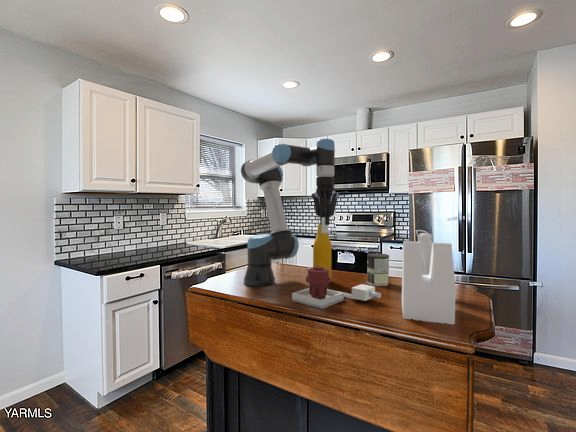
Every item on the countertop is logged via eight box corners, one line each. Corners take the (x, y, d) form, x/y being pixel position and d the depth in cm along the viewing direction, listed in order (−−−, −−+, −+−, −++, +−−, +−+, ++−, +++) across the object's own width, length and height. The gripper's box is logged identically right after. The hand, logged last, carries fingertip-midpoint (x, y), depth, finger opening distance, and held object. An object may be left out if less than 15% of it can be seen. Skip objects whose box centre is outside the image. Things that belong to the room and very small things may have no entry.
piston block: (351, 297, 121) (351, 287, 121) (361, 293, 127) (361, 284, 127) (375, 303, 114) (375, 292, 114) (384, 298, 120) (384, 288, 120)
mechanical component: (331, 295, 125) (329, 302, 116) (307, 293, 127) (303, 300, 118) (331, 265, 125) (330, 270, 115) (307, 264, 127) (303, 268, 117)
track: (333, 294, 130) (333, 292, 129) (337, 293, 132) (337, 290, 132) (356, 300, 122) (356, 297, 122) (360, 298, 124) (360, 296, 124)
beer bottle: (334, 280, 154) (334, 223, 153) (326, 284, 146) (327, 224, 145) (317, 278, 159) (318, 223, 158) (309, 282, 151) (310, 223, 150)
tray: (292, 300, 121) (292, 293, 121) (314, 293, 132) (314, 286, 132) (322, 309, 111) (322, 300, 111) (343, 300, 122) (343, 292, 122)
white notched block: (454, 324, 97) (456, 246, 96) (403, 318, 102) (404, 244, 101) (444, 306, 115) (446, 240, 115) (401, 302, 120) (402, 239, 120)
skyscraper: (421, 297, 127) (423, 230, 126) (410, 292, 135) (411, 229, 134) (439, 296, 129) (440, 230, 128) (426, 291, 137) (428, 229, 136)
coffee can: (363, 283, 148) (364, 255, 148) (371, 279, 157) (371, 252, 156) (384, 287, 142) (385, 257, 142) (391, 282, 151) (392, 254, 150)
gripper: (307, 177, 130) (307, 232, 130) (333, 175, 121) (332, 234, 122) (318, 178, 135) (317, 231, 136) (343, 176, 127) (342, 233, 127)
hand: (324, 232), depth 129 cm, fingers closed
